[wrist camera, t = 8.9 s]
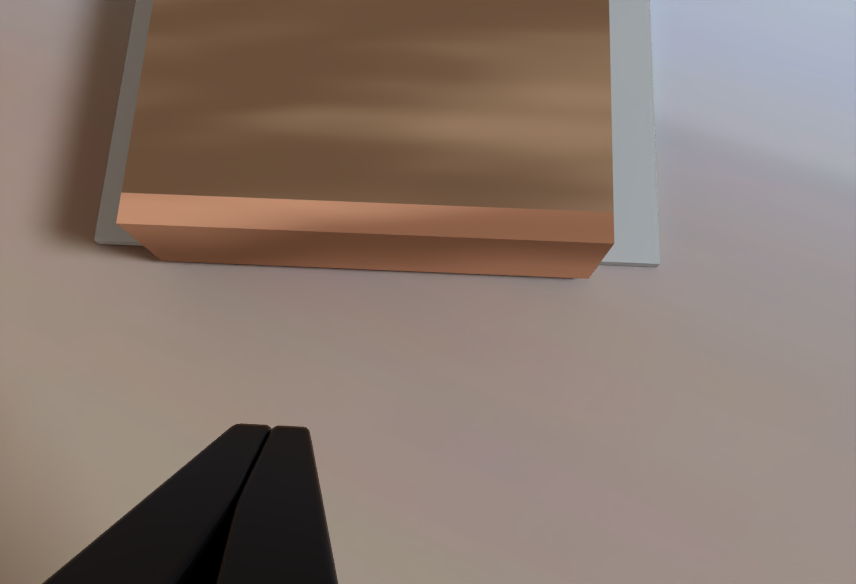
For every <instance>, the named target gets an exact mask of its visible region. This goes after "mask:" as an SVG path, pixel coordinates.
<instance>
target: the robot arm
mask: <svg viewBox="0 0 856 584" xmlns="http://www.w3.org/2000/svg"><path fill="white" fill-rule="evenodd" d="M42 584H338V580H337V575H336V570H335V564H334V559H333V553H332V548H331V543H330V537H329V532H328V527H327V521H326V516H325V511H324V505H323V500H322V495H321V489H320V484H319V478H318V473H317V468H316V462H315V457H314V452H313V446H312V441H311V436H310V432H309V430H308V429H307V428H306V427H297V426H276V427H274V428H272V429H271V428H270V427H269V426H268V425H259V424H236V425H234V426H232V427H230V428H229V429H228V430H227V431H226V432H224V433H223V434H222V435H221V436H219V437H218V438H217V439H216V440H215V441H213V442H212V443H211V444H210V445H209V446H207V447H206V448H205V449H204V450H203V451H201V452H200V453H199V454H198V455H197V456H195V457H194V458H193V459H192V460H191V461H189V462H188V463H187V464H186V465H185V466H183V467H182V468H181V469H180V470H179V471H177V472H176V473H175V474H174V475H173V476H171V477H170V478H169V479H168V480H167V481H165V482H164V483H163V484H162V485H160V486H159V487H158V488H157V489H156V490H154V491H153V492H152V493H151V494H150V495H148V496H147V497H146V498H145V499H144V500H142V501H141V502H140V503H139V504H138V505H136V506H135V507H134V508H133V509H132V510H130V511H129V512H128V513H127V514H126V515H124V516H123V517H122V518H121V519H120V520H118V521H117V522H116V523H115V524H114V525H112V526H111V527H110V528H109V529H108V530H106V531H105V532H104V533H103V534H101V535H100V536H99V537H98V538H97V539H95V540H94V541H93V542H92V543H91V544H89V545H88V546H87V547H86V548H85V549H83V550H82V551H81V552H80V553H79V554H77V555H76V556H75V557H74V558H73V559H71V560H70V561H69V562H68V563H67V564H65V565H64V566H63V567H62V568H61V569H59V570H58V571H57V572H56V573H55V574H53V575H52V576H51V577H50V578H48V579H47V580H46V581H45V582H44V583H42Z"/></svg>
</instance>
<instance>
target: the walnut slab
mask: <svg viewBox="0 0 856 584" xmlns="http://www.w3.org/2000/svg"><path fill="white" fill-rule="evenodd" d="M116 224H118V225H119V226H120V227H121V228H122V229H124V230H125V231H126V232H127V233H128V234H130V235H131V236H132V237H133V238H134V239H136V240H137V241H138V242H139V243H140V244H142V245H143V246H144V247H145V248H146V249H148V250H149V251H150V252H151V253H152V254H154V255H155V256H156V257H157V258H158V259H160V260H161V261H180V262H204V263H228V264H252V265H276V266H299V267H323V268H347V269H371V270H395V271H419V272H443V273H467V274H491V275H515V276H539V277H563V278H587V279H589V277H590V276H591V274H592V273H593V272H594V270H595V269H596V268H597V266H598V265H599V264H600V262H601V261H602V260H603V258H604V257H605V256H606V254H607V253H608V252H609V250H610V249H611V248H612V246H613V245H614V202H613V157H612V111H611V66H610V21H609V0H153V6H152V12H151V18H150V24H149V30H148V36H147V42H146V48H145V54H144V59H143V65H142V71H141V77H140V83H139V89H138V95H137V101H136V107H135V113H134V119H133V125H132V131H131V137H130V143H129V149H128V155H127V161H126V167H125V173H124V179H123V185H122V191H121V197H120V203H119V209H118V215H117V221H116Z"/></svg>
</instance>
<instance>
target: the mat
mask: <svg viewBox="0 0 856 584" xmlns="http://www.w3.org/2000/svg"><path fill="white" fill-rule="evenodd" d="M152 6H153V0H136V2H135V8H134V13H133V19H132V25H131V30H130V36H129V42H128V48H127V53H126V59H125V65H124V71H123V76H122V82H121V88H120V93H119V99H118V105H117V111H116V116H115V122H114V128H113V134H112V139H111V145H110V151H109V156H108V162H107V168H106V174H105V179H104V185H103V191H102V197H101V202H100V208H99V214H98V219H97V225H96V231H95V237H94V241H95V242H97V243H98V244H112V245H136V246H143V245H142V244H140V243H139V242H138V241H137V240H136V239H134V238H133V237H132V236H131V235H130V234H128V233H127V232H126V231H125V230H124V229H122V228H121V227H120V226H119V225H118V224H116V221H117V215H118V209H119V203H120V197H121V191H122V185H123V179H124V173H125V167H126V161H127V155H128V149H129V143H130V137H131V131H132V125H133V119H134V113H135V107H136V101H137V95H138V89H139V83H140V77H141V71H142V65H143V59H144V54H145V48H146V42H147V36H148V30H149V24H150V18H151V12H152ZM609 21H610V66H611V111H612V157H613V202H614V245H613V246H612V248H611V249H610V250H609V252H608V253H607V254H606V256H605V257H604V258H603V260H602V261H601V262H600V264H599V265H619V266H644V267H657V266H658V265H659V264H660V254H659V228H658V202H657V177H656V151H655V125H654V100H653V74H652V48H651V22H650V0H609Z"/></svg>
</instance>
